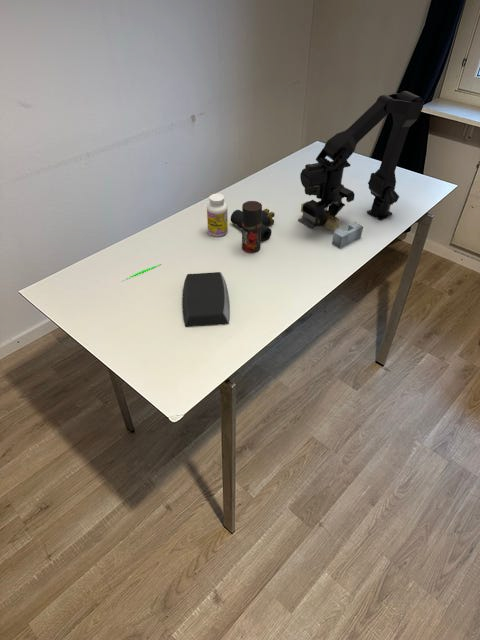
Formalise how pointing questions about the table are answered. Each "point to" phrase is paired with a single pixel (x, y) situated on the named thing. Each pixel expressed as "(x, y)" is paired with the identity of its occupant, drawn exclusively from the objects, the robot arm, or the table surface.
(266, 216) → the pipe connector
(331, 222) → the tan square rod
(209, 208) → the supplement bottle
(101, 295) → the table surface
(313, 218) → the grey sleeve
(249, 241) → the deodorant
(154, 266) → the pen
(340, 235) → the slate-blue socket
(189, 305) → the external hard drive
